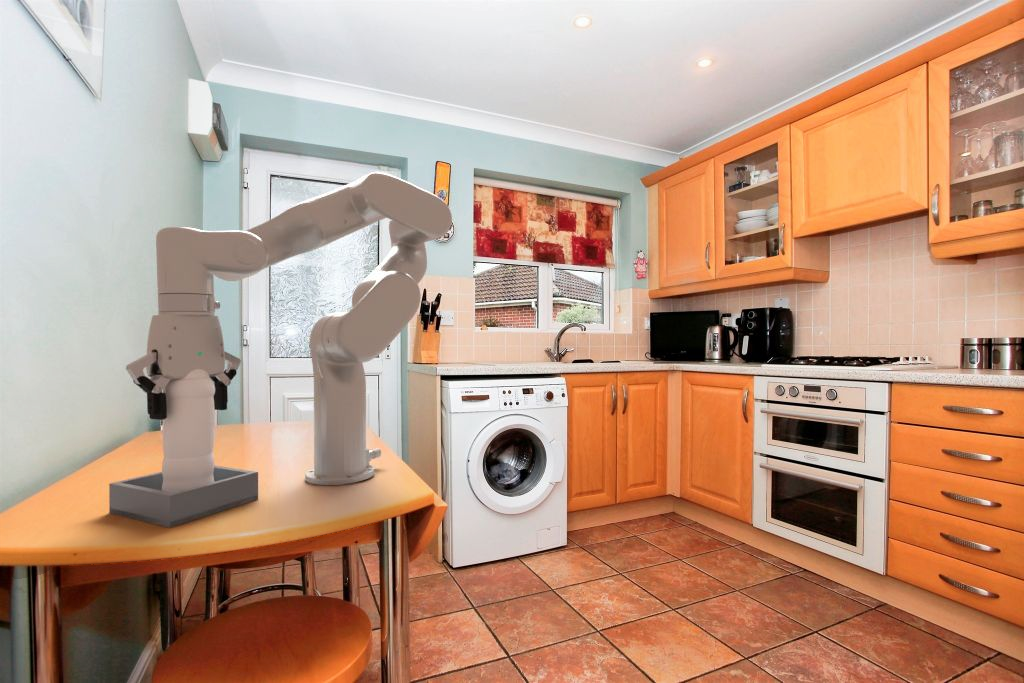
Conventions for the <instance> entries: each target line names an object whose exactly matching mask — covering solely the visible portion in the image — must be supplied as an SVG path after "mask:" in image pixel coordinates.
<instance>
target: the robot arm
mask: <svg viewBox="0 0 1024 683" xmlns="http://www.w3.org/2000/svg"><path fill="white" fill-rule="evenodd" d="M386 218H387V219H388V220H389V222H388V223H389V224H388V230H389V236H390V238H389V239H390V245H391V246H390V250H389V253H388V254H387V255H386V257H385V258H384V259H383V260H382V262H380V264H378V266H376V268H375V269H374V270H372V271H371V272H370V273H369V275H367V276H366V278H364V279H363V280H361V282H360V283H358V285H357V286H356V287H355V289H354V291H353V293H352V297H351V306H352V308H351V309H350V310H348V311H338V312H332V313H328V314H326V315H324V316H322V317H320V319H318V320H317V321H316V322H315V323H314V325H313V327H312V328H311V331H310V336H309V351H310V357H311V364H312V371H313V374H312V375H313V465H314V466H313V468H312V469H309V470H307V471H306V472H305V474H304V476H305V477H304V479H305V481H306V482H307V483H308V484H313V485H319V486H339V485H340V486H341V485H347V484H348V485H349V484H355V483H358V482H362V481H365V480H368V479H370V478H372V477H374V475H375V467H374V466H373V465H370V462H371V461H372V460H374V459H375V460H376V459H378V458H380V457H381V456H382V451H381V449H380V448H379V447H377V448H373V449H370V448H367V406H366V405H367V381H366V379H367V378H366V374H365V373H366V372H365V369H364V363H368V362H370V361H373V360H374V359H376V358H377V357H379V356H380V355H381V354H382V353H383V352H384V351H385V350H387V348H388V347H389V346H390V345H391V344H392V342H393V341H394V340H395V339H396V337H397V336H398V335H399V334H400V333H401V332H402V331H403V329H404V328H405V327H406V326H407V325H408V324H409V323H410V321H411V320H412V319H413V318H414V316H415V315H416V313H417V312H418V310H419V307H420V303H421V296H422V295H421V291H420V290H421V289H420V287H419V285H418V284H419V283H420V282H421V281H422V280H423V278H424V276H425V275H426V272H427V269H428V267H427V266H428V259H427V258H428V257H427V248H426V245H425V243H426V242H430V241H434V240H436V239H440V238H443V237H444V236H445V235H447V233H448V232H449V231H450V229H451V227H452V223H453V222H452V221H453V216H452V212H451V210H450V207H449V205H448V204H447V203H446V202H445V201H444V199H442V198H440V197H439V196H437V195H436V194H434V193H431V192H430V191H428V190H425V189H423V188H420V187H418V185H417V186H416V185H414V184H413V183H411V182H408V181H406V180H404V179H401V178H400V177H396V176H394V175H391V174H389V173H386V172H381V171H375V172H370V173H368V174H366V175H364V176H362V177H360V178H359V179H357V180H356V181H355V180H354V181H353V182H351V183H348V184H345V185H344V186H341V187H338V188H336V189H334V190H331V191H327V193H324V194H323V193H322V194H321V195H318V196H315V197H312V198H310V199H307V200H304V201H301V202H299V203H297V204H295V205H294V206H291V207H289V208H288V209H286V210H284V211H283V212H282V213H279V215H277V216H276V215H275V217H273V218H271V219H269V220H267V221H265V222H263V223H261V224H257V225H256V226H254V227H251V228H249V229H247V230H245V231H243V230H201V229H198V228H195V227H194V228H193V227H184V226H168V227H163V228H161V229H160V230H158V231H157V233H156V237H155V246H156V247H155V248H156V250H155V251H156V277H157V278H156V281H157V301H158V302H157V307H158V308H157V309H158V311H157V312H158V314H155V315H152V316H151V319H150V320H151V321H150V324H149V329H148V335H147V342H146V343H147V345H146V355H143V356H141V357H140V358H138V359H135V360H134V361H131V362H130V363H128V364H126V366H125V369H126V372H127V373H128V374H129V376H130V378H131V379H132V381H133V383H134V385H136V386H138V387H139V388H140V389H141V390H142V391H143V393H145V394H146V403H147V404H146V405H147V414H148V415H149V418H150V420H158V421H163V419H166V418H167V407H166V394H165V393H163V389H164V387H165V386H166V385H167V383H168V382H169V381H170V380H171V379H182V378H184V377H186V376H187V375H188V374H189V373H190V372H192V371H193V370H196V369H201V370H204V371H206V372H207V373H208V375H209V378H211V380H212V381H213V383H214V385H215V394H214V396H213V397H214V408H215V410H217V411H226V410H227V409H228V402H229V400H228V399H229V398H228V395H229V394H228V386H230V385H231V384H232V380H233V379H234V377H236V375H237V373H238V369H239V367H240V364H241V363H242V362H241V359H240V358H239V357H237V356H235V355H232V354H231V353H229V352H227V351H225V345H224V338H223V336H224V335H223V332H222V326H221V322H220V318H219V316H218V315H215V313H216V310H219V309H220V308H221V303H220V302H219V301H217V300H215V296H214V295H215V290H214V289H215V286H214V284H215V283H214V282H215V281H214V276H215V277H217V278H219V279H221V280H222V281H227V282H237V281H241V280H245V279H247V278H249V277H252V276H254V275H257V274H258V273H260V272H261V271H264V270H265V269H267V268H270V267H271V266H275V265H276V264H279V263H281V262H283V261H285V260H288V259H290V258H294V257H295V256H298V255H303V254H307V253H310V252H312V251H314V250H315V251H316V250H317V249H319V248H322V247H324V246H328V245H329V244H331V243H333V242H335V241H338V240H340V239H341V238H344V237H346V236H348V235H350V234H353V233H355V232H358V231H360V230H361V229H365V228H366V227H368V226H370V225H373V224H374V223H377V222H379V221H382V220H384V219H386ZM198 352H201V355H198ZM225 364H227V366H225ZM225 367H226V369H225ZM145 368H146V374H145V372H144V369H145ZM146 375H147V376H146Z"/></svg>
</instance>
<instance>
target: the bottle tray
mask: <svg viewBox="0 0 1024 683" xmlns="http://www.w3.org/2000/svg"><path fill="white" fill-rule="evenodd" d="M213 477H214V482H212V483H208V484H205V485H201V486H197V487H193V488H189V489H186V490H182V491H178V492H174V493H171V492H166V491H162V484H163V475H162V471H159V472H154V473H150V474H146V475H145V474H144V475H142V476H138V477H132V478H128V479H124V480H123V479H122V480H119V481H115V482H110V483H109V482H108V483H109V485H108V486H109V490H108V492H109V495H108V497H109V501H108V502H109V507H108V508H109V511H108V512H109V514H113V515H116V516H120V517H126V518H128V519H132V520H133V519H134V520H137V521H142V522H145V523H150V524H152V525H157V526H161V527H165V528H168V529H170V528H174V527H178V526H179V525H183V524H187V523H189V522H192V521H195V520H198V519H202V518H205V517H208V516H212V515H215V514H216V513H220V512H223V511H227V510H229V509H233V508H236V507H238V506H242V505H244V504H249V503H251V502H253V501H257V500H259V471H255V470H248V469H241V468H234V467H227V466H221V465H215V464H214V471H213Z"/></svg>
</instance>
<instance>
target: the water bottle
mask: <svg viewBox="0 0 1024 683" xmlns="http://www.w3.org/2000/svg"><path fill="white" fill-rule="evenodd" d="M198 355H201V352H198ZM162 393H165V394H166V407H167V418H166V419H163V420H162V434H161V435H162V449H163V450H162V452H163V459H162V463H161V472H162V475H163V484H162V491H166V492H171V493H174V492H178V491H182V490H186V489H189V488H193V487H197V486H201V485H205V484H208V483H212V482H214V477H213V471H214V465H215V454H214V445H215V434H216V433H215V431H216V428H215V427H216V421H215V420H216V419H215V418H216V417H215V415H216V413H215V408H214V397H213V396H214V394H215V385H214V383H213V381H212V380H211V378H209V375H208V373H207V372H206V371H204V370H201V369H196V370H193V371H192V372H190V373H189V374H188V375H187V376H186V377H184V378H182V379H171V380H170V381H169V382H168V383H167V385H166V386H165V387H164V389H163V390H162Z"/></svg>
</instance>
